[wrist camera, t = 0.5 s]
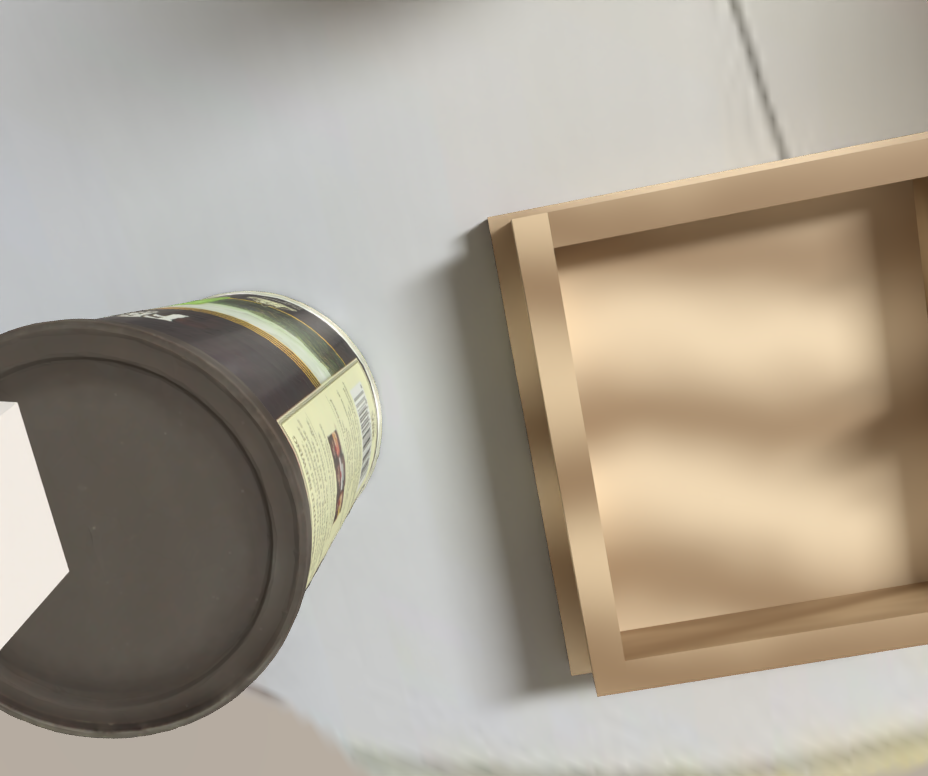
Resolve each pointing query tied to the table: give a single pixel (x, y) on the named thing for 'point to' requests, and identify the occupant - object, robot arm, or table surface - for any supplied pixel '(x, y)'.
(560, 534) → the rack
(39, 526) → the robot arm
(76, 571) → the coffee can
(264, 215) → the table surface
